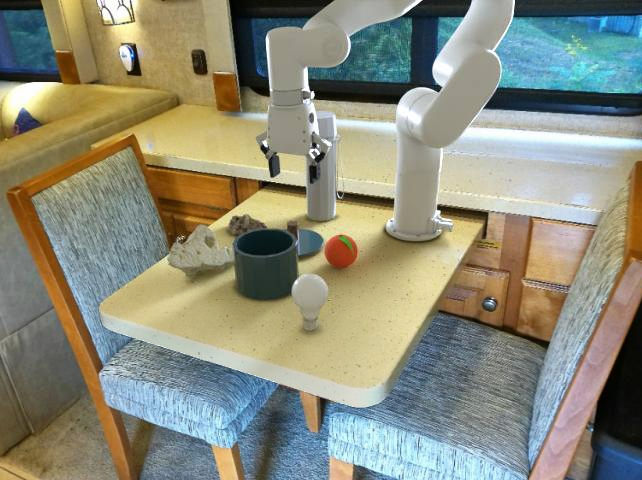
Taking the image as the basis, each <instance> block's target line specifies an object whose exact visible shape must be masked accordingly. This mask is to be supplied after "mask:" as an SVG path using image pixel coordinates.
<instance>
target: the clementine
mask: <svg viewBox="0 0 642 480" xmlns="http://www.w3.org/2000/svg"><path fill="white" fill-rule="evenodd" d="M358 249H359V248H358V245H357V243H356V241H355V239H353V238H352V237H350V236H348V235H347V234H336V235H334V236H331V238H330V239H328V241H327V242H326V244H325V245H324V257H325V260H326V261H327V262H328V263H329V265H331V266H333V267H334V268H337V269H345V268H347V267H350V266H352V264H354V263H355V261H356V260H357V257H358V254H359V253H358V252H359V250H358Z"/></svg>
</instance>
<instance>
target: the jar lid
mask: <svg viewBox="0 0 642 480" xmlns="http://www.w3.org/2000/svg"><path fill="white" fill-rule="evenodd" d="M299 226H300V225H299V221H297V220H290V221H289V220H288V221H287V222H286V228H284V229H282V230H286V231H288V232H290V233H292V234H294V235H295V237H296V239H297V242H298V259H299V258H304V257H308V256H312V255H315V254H316V253H318V252H319V251H320V250H322V248H323V247H324V243H325V241H324V237H323V236H322V234H320V233H318V232H317V231H314V230H311V229H309V228H300V227H299Z"/></svg>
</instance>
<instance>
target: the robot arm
mask: <svg viewBox="0 0 642 480" xmlns="http://www.w3.org/2000/svg"><path fill="white" fill-rule="evenodd" d="M421 1H423V0H333V1H332V2H331V3H329V4H327V5H326V6H325V7H324V8H322V9H321V10H320V11H318V12H317V13H316V14H315V15H313V16H312V17H311V18H310V19H309V20H307V22H306V23H305V24H304V26H303V27H302V28H301V27H298V26H280V27H276V28H273V29H271V30H269V31H268V32H267V33H266V36H265V46H266V48H265V49H266V58H267V59H266V60H267V72H268V80H269V81H268V83H269V96H270V102H269V103H268V106H267V115H266V131H264V132H263V133H260V134H258V135H256V137H255V140H256V142H257V144H258V146H259V149H260V151H261V152H262V153H263V154H264V158H265V159H266V160H267V162H268V163H267V165H268V172H269V178H270V179H274V178H276V177H277V176H279V175H280V174H281V161H280V160H281V159H280V156H279V155H278V154H284V155H285V154H286V155H295V156H304V157H305V158H306V157H307V159H308V160H309V161H310V163H311V165H310V166H309V179H310V184H314V183H315V182H317V181H318V180H319V179H320V176H321V170H320V162H321V161H322V160H323V159H324V158H325V157H326V156H327V155H328V152H329V150H330V148H331V143H330V142H328V141H327V140H325V139H324V138H322V137H321V136H319V133H318V124H317V118H316V113H315V111H316V108H315V106H314V102H313V101H310V100H314V97H315V93H314V91H311V90H310V86H309V77H308V76H309V75H308V74H309V73H308V68H323V69H324V68H326V69H328V68H335V67H337V66H339V65H340V64H342V63H344V62H345V60H346V59H347V58H348V56H349V54H350V50H351V40H350V37H351V36H353V35H354V34H356V33H357V32H359V31H360V30H361V31H362V30H363V29H365V28H367V27H369V26H372V25H375V24H380V23H385V22H390V21H392V20H395V19H397V18H399V17H402V16H403V15H405V14H406V13H407V12H409V11H410V10H411V9H412V8H413V7H416V5H418V4H419V3H420V2H421ZM514 10H515V0H471V4H470V6H469V8H468V10H467V12H466V14H465V16H464V17H463V19H462V20H461V22H460V23H459V25H458V26H457V28H456V29H455V31H454V32H453V34H451V37H450V38H449V39H448V41H447V42H446V43H445V45H444V46H443V47H442V49H441V50H440V52H439V53H438V55H437V56H436V58H435V60H434V62H433V64H432V70H431V71H432V77H433V79H434V80H435V82H436V83H437V84H438V85H439V86H440V87H442V88H441V89H440V91H439V92H438V91H436V90H434V89H431V88H428V87H423V86H422V87H415V88H412V89H410V90H408V91H406V93H405V94H403V96H401V98H400V100H399V102H398V104H397V107H396V112H395V129H396V150H397V151H396V166H395V167H396V168H395V182H394V183H395V185H394V186H395V187H394V199H393V200H394V202H393V203H394V204H393V217H391V218H390V219H388V221H387V222H386V223H385V230H386V233H388V234H389V235H390V236H391V237H393V238H395V239H397V240H402V241H406V242H425V241H430V240H433V239H435V238H438V237H439V236H440V235H441V234H442V231H443V232H448V233H453V232H454V228H455V224H454V223H452V222H453V220H452V219H450V218H443V216H441V210H438V202H439V201H438V200H439V192H440V191H439V190H440V181H441V170H442V164H443V163H442V161H443V149H445V148H448V147H450V146H451V145H453V144H454V143H456V142H457V141H458V140H459V139H460V138H461V137H462V136H463V134H464V133H465V132H466V131H467V129H468V128H469V127H470V126H471V124H472V123H473V122H474V120H475V119H476V118H477V116H479V114H480V113H481V111H482V110H483V108H484V107H485V106H486V105H487V104H488V102H489V101H490V100H491V98H492V97H493V95H494V94H495V93H496V90H497V88H498V86H499V84H500V81H501V77H502V62H501V60H500V57H499V56H498V55H497V53H496V52H494V51H495V50H496V48H497V47H498V45H499V44H500V42H501V41H502V39H503V38H504V36H505V35H506V33H507V31H508V29H509V28H510V25H511V23H512V21H513V17H514V12H515V11H514ZM266 139H267V141H266ZM319 146H320V147H321V152H320V153H319V152H318V151H317V150H316V149H318V148H319Z"/></svg>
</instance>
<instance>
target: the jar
mask: <svg viewBox="0 0 642 480" xmlns="http://www.w3.org/2000/svg"><path fill="white" fill-rule="evenodd" d="M231 249H232V250H233V260H234V264H233V271H234V279H235V285H236V289H237V291H238V292H239V293H240V295H242V296H243V297H246V298H248V299H251V300H256V301H274V300H279V299H282V298H286V297H288V296H289V295H292V293H291V291H292V286H293V284H294V282H295V281H296V279H298V278H299V277H300V275H299V271H300V270H299V258H298V242H297V239H296V237H295V235H294V234H292V233H290V232H288V231H286V230H283V229H281V228H276V227H275V228H274V227H267V228H262V229H255V230H250V231H248V232H245V233H242V234H240V235H237V236H236V237H235V238H234V239H233V241H232V243H231Z"/></svg>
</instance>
